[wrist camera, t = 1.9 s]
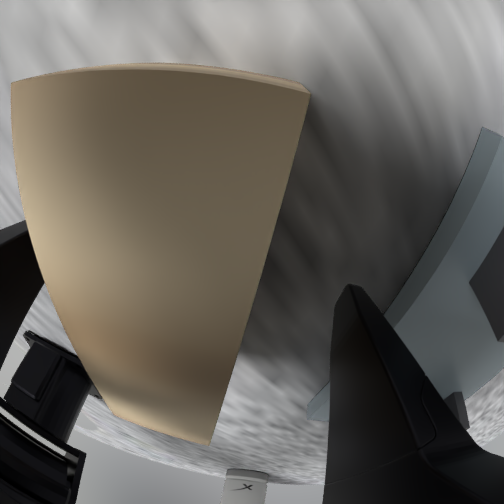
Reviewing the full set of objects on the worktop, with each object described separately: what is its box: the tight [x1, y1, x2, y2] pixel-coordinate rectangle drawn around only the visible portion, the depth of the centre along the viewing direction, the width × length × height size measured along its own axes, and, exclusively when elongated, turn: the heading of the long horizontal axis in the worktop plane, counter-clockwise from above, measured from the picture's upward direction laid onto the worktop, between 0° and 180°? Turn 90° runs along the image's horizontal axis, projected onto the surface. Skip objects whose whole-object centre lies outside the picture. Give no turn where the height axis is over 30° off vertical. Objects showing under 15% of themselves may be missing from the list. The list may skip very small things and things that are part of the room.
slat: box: [11, 63, 311, 446], centre depth 7 cm, size 10×4×5 cm, turn 169°
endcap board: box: [307, 127, 504, 430], centre depth 9 cm, size 16×10×4 cm, turn 168°
